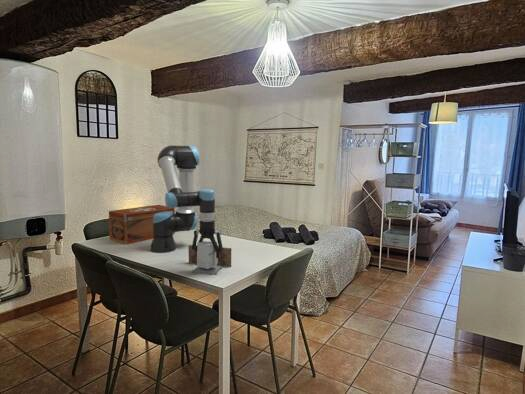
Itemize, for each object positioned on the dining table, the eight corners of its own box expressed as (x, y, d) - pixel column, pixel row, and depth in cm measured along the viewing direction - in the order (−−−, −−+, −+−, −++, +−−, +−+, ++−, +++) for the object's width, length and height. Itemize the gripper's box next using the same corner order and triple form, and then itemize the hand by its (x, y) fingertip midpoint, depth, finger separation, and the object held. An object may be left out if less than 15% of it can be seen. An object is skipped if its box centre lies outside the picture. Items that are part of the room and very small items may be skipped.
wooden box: (108, 239, 226) (107, 211, 224) (159, 229, 259) (158, 204, 256) (125, 244, 214) (124, 214, 211) (175, 233, 246) (175, 207, 244)
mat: (192, 272, 166) (192, 270, 166) (200, 266, 175) (200, 264, 175) (215, 274, 163) (215, 272, 163) (221, 268, 173) (221, 266, 173)
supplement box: (208, 269, 164) (207, 244, 162) (197, 266, 168) (196, 242, 166) (217, 265, 170) (217, 241, 169) (206, 262, 174) (206, 239, 173)
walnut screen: (188, 263, 180) (188, 245, 179) (189, 262, 181) (189, 244, 180) (230, 266, 176) (230, 248, 174) (231, 266, 177) (231, 247, 176)
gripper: (184, 220, 164) (184, 263, 167) (225, 222, 160) (225, 267, 163) (190, 217, 172) (190, 259, 175) (229, 220, 168) (229, 262, 171)
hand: (207, 263), depth 169 cm, fingers closed on supplement box, 9 cm apart
